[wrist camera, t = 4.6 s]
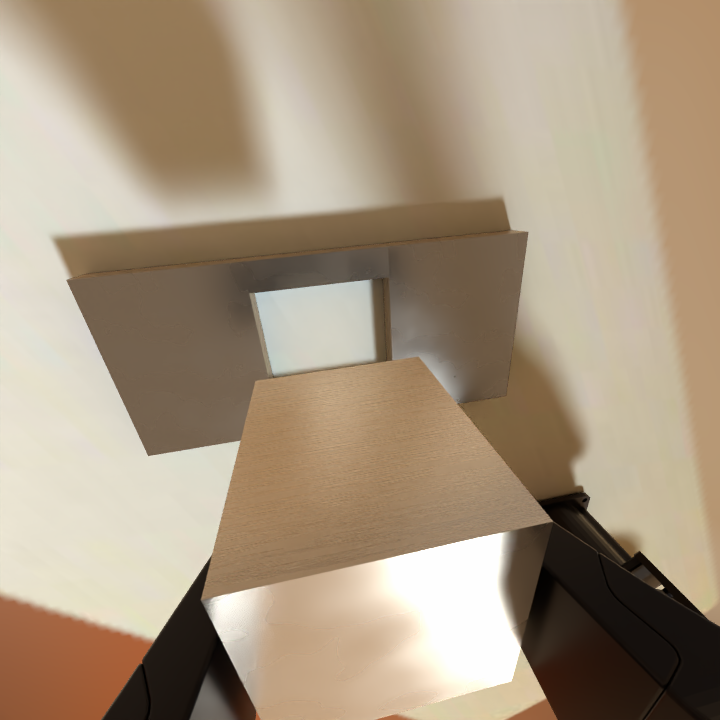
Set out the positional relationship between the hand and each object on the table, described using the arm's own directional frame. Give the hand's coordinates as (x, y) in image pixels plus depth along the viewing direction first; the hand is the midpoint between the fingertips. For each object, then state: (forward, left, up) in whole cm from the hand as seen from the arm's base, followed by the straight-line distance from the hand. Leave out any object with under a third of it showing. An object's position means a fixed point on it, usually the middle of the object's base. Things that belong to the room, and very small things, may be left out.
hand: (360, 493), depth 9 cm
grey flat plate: (0, 0, -12) cm, 12 cm away
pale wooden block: (0, 0, -3) cm, 3 cm away
